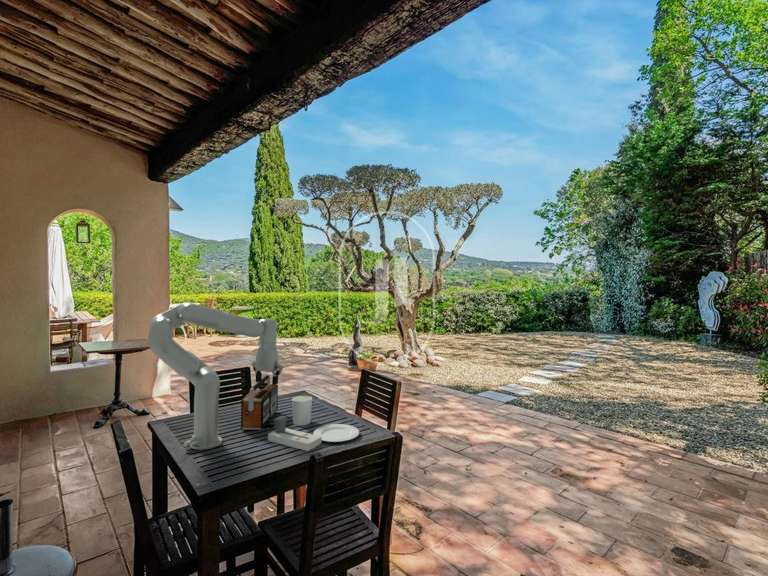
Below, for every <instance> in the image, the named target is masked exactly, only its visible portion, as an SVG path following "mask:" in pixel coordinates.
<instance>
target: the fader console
mask: <svg viewBox="0 0 768 576" xmlns="http://www.w3.org/2000/svg"><path fill="white" fill-rule="evenodd" d="M267 441H268V442H272V443H275V444H279V445H283V446H287V447H290V448H295V449H299V450H302V451H306V452H310V451H311V449H312V450H313V449H315V448H316V446H317V447H318V446H320V445H321V444H322V442H323V441H322V437H321V436H317V435H314V434H312V433H309V432H303V431H299V430H295V429H291V428H289V427H286V430H285V431H283V432H281V433H276V432H275V430H273V431H271V432H269V433H267ZM309 450H310V451H309Z"/></svg>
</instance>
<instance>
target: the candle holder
mask: <svg viewBox="0 0 768 576" xmlns="http://www.w3.org/2000/svg"><path fill="white" fill-rule="evenodd" d="M291 402H292V403H291V405H292V407H291V408H292V423H293V425H295V426H300V427H301V426H302V427H303V426H308V425H310V423H311V420H312V407H313V406H312V404H313V397H312V396H309V395H297V396H294V397H292V398H291Z"/></svg>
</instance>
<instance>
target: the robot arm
mask: <svg viewBox="0 0 768 576" xmlns="http://www.w3.org/2000/svg"><path fill="white" fill-rule="evenodd" d="M185 324H188V325H193V326H197V327H198V326H199V327H201V328H206V329H211V330H217V331H220V332H227V333H231V334H235V335H241V336H245V337H250V338H258V337H259V339H258V343H257V345H258V348H257V350H256V354H255V360H254V361H252V362H251V365H252V369H253V371H254V373H255V383H258V382H259V381H261V379H262V378H263V377H262V375H263V373H262V372H266V373H271V374H272V381H271V384H272V385H278V384H279V376H280V374H281V373H282V371H283V369H284V366H282V364H280V363H279V353H278V349H277V333H278V332H277V330H278V329H277V328H278V327H277V326H278V325H277V324H278V321H277V320H276V319H275V318H262V319H260V318H252V317H251V318H249V317H244V316H239V315H236V314H233V313H230V312H229V311H226V310H222V309H217V308H213V307H210V306H206V305H205V306H204V305H200V304H197V303H193V302H190V301H188V302H186V301H185V302H183V303H180V304H179V305H176V306H174V307H172V308H170V309H168V310H166V311H164V312H162V313H159V314H157V315H155V316H153V317H152V318H151V319H150V320H149V322H148V330H149V331H148V336H147V342H148V343H147V344H148V347H149V349H150V351H151V352H152V353H153V355H155V356H156V357H157V358H158V359H159V360H161V361H162V362H163V363H164V364H165V365H167V366H168V367H169V368H170V369H172V370H173V371H174V372H175V373H176V375H179V376H181V377H184V378H185V379H186V380H188V381H189V382H190V383H191V384H193V385H194V398H193V401H194V402H193V403H194V404H193V435H191V438H190V439H189V440H186V441H184V442H183V444H182V445H183V447H184V448H185V447H188V446H189V448H191V449H193V450H197V451H200V450H201V451H204V450H205V451H206V450H209V449H210V450H211V449H214V448H216V447H219V446H221V444H222V443H223V438H222V437H220V436H219V423H220V421H219V412H220V411H219V407H220V405H219V404H220V403H219V402H220V401H219V400H220V399H219V398H220V396H219V395H220V388H221V379H220V376H219V375H218V373H217V372H216V371H215V370H214V369H213V368H211V366H209V365H208V364H206V362H204V361H203V360H202V359H200V358H199V357H198V356H196V355H195V354H194V353H193V352H191V351H190V350H186V349H185V348H183V347H182V345H180V344H179V343H178V342H176V340H174V338H173V333H174V330H176V329H178V328H179V327H182V326H184V325H185Z"/></svg>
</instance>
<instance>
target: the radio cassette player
mask: <svg viewBox="0 0 768 576" xmlns="http://www.w3.org/2000/svg"><path fill="white" fill-rule="evenodd" d="M278 394H279V385H278V384H276V385H272V383H271V376H270V374H269V373H268V374H266V375H265V376H263V377H262V379H261V381H259V382H256V383H255V384H254V385H253V386H251V388H250V389H249V392H248V393H247V394H246V395H245V396H244V397H243V398H242V399H241V401H240V402H241V403H240V405H241V406H240V407H241V408H240V409H241V411H240V429H241V430H253V431H254V430H255V431H256V430H257V431H261V430H263V429H264V427H265V426H266V425H267V424H268V422H269V421H270V420H271V418H272V417H273V416H274V414H275V413H276V412H277V411H279V410H278V408H279V406H278V405H279V401H278V400H279V399H278V398H279V395H278Z"/></svg>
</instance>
